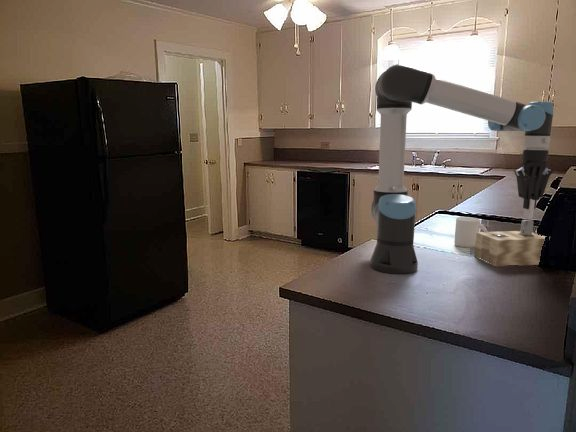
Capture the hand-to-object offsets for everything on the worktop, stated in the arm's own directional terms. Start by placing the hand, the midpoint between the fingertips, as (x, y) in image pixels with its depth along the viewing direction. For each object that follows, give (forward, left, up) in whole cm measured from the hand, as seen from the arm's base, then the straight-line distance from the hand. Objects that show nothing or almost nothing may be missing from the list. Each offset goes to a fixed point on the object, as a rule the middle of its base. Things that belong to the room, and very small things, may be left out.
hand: (528, 218), depth 150 cm
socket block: (-5, 0, -15) cm, 16 cm away
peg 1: (-10, 0, -15) cm, 18 cm away
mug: (-8, +20, -15) cm, 26 cm away
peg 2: (0, 0, -10) cm, 10 cm away
